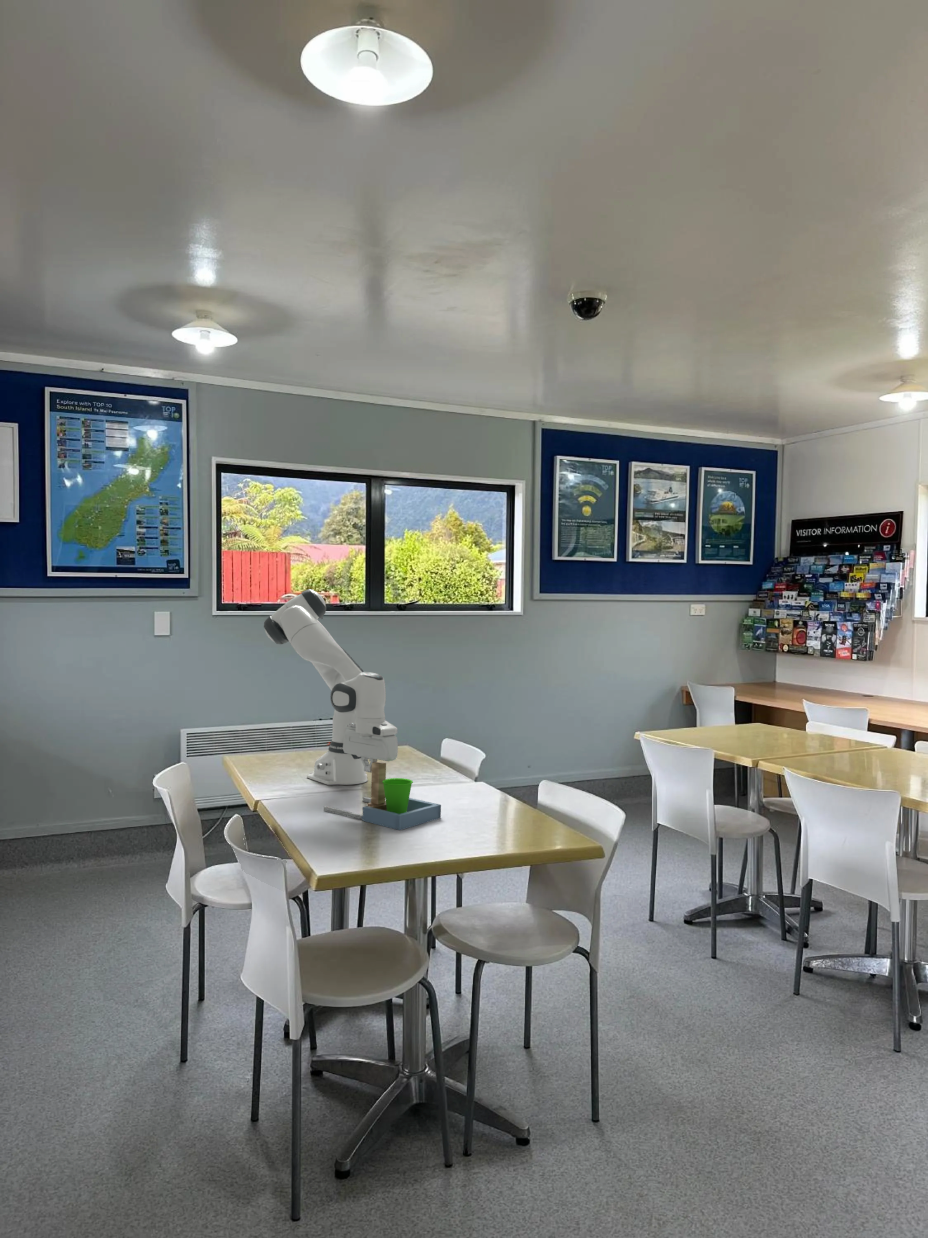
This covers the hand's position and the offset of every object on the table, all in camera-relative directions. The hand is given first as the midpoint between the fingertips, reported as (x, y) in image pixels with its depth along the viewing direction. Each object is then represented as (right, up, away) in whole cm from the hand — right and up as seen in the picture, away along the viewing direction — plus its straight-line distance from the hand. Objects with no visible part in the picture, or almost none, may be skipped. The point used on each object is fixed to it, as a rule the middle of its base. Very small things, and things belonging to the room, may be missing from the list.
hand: (368, 771), depth 253 cm
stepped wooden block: (+4, -12, -2) cm, 13 cm away
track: (-2, -12, +2) cm, 12 cm away
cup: (+9, -13, -7) cm, 17 cm away
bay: (+11, -13, -8) cm, 18 cm away
